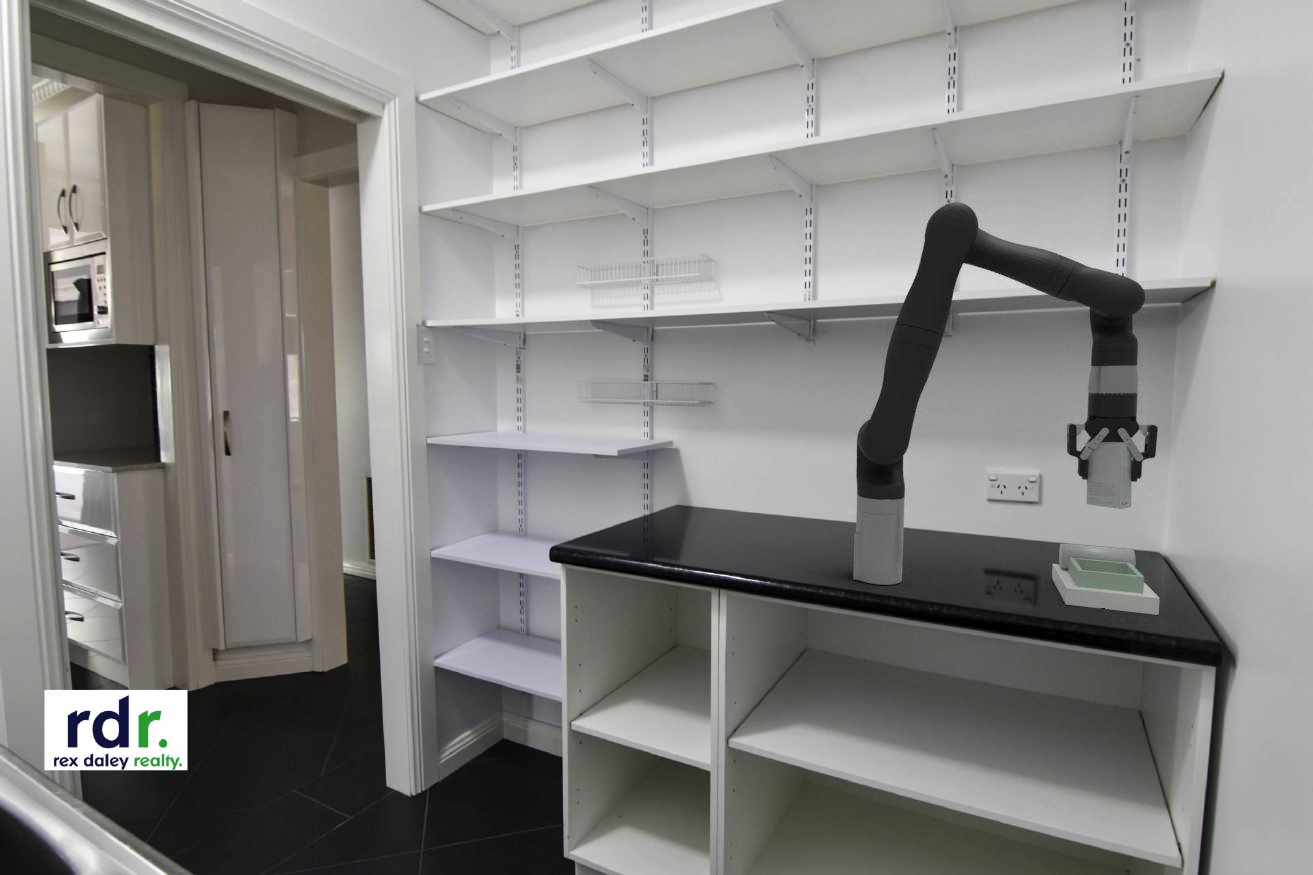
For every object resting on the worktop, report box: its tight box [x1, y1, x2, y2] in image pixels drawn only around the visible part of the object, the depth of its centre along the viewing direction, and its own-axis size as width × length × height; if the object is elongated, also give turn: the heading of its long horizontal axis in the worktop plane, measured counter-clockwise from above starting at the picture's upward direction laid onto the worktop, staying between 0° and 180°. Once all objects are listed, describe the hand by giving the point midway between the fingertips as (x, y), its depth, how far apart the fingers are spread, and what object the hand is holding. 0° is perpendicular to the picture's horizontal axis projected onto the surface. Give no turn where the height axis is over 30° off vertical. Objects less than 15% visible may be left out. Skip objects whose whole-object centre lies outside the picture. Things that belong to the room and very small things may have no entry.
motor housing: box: [1051, 543, 1161, 616], centre depth 129 cm, size 14×18×8 cm
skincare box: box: [1086, 441, 1132, 510], centre depth 126 cm, size 6×4×12 cm
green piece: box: [1068, 557, 1145, 593], centre depth 127 cm, size 10×10×3 cm
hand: (1108, 480), depth 126 cm, fingers closed on skincare box, 7 cm apart
